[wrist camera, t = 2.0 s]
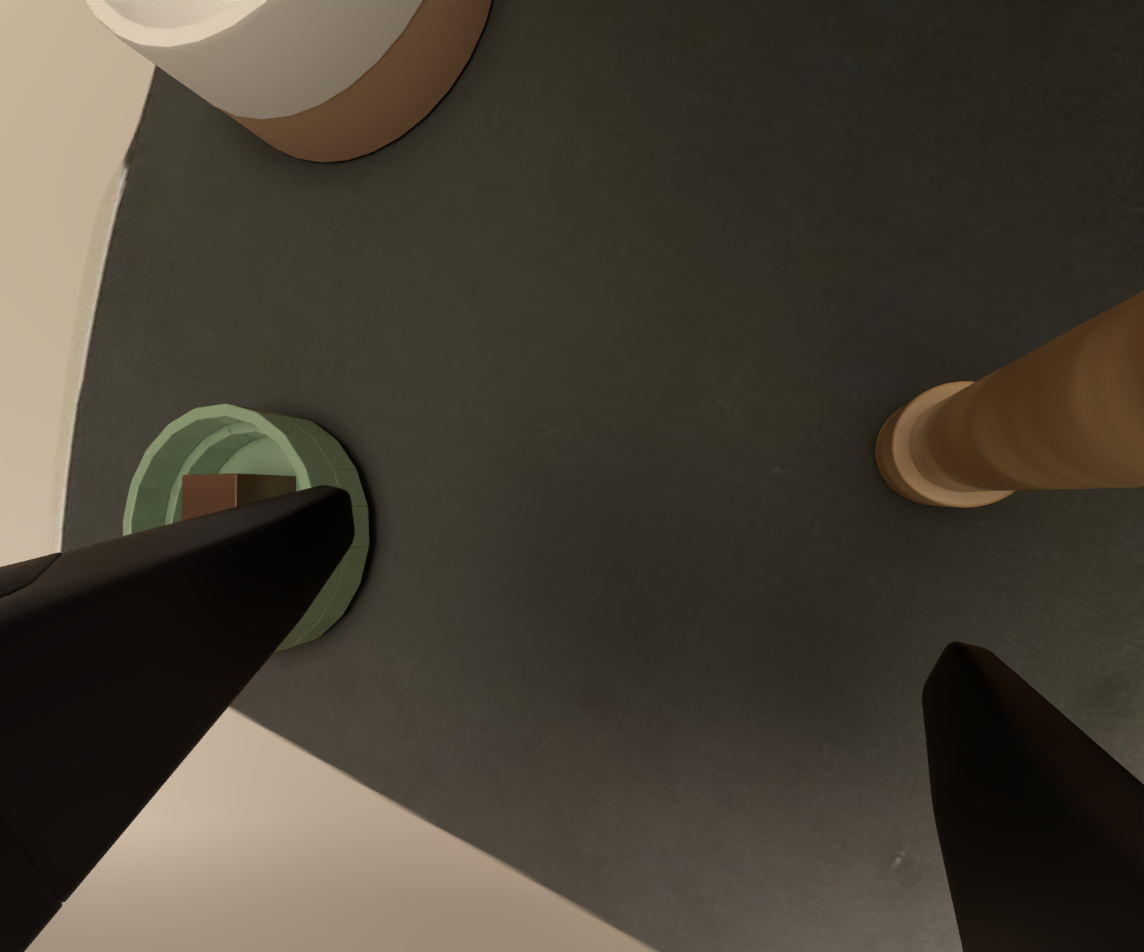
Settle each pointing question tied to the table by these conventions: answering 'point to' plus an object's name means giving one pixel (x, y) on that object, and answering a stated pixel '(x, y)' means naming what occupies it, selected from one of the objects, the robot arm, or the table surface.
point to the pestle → (1028, 421)
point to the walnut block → (229, 491)
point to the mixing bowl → (253, 447)
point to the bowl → (308, 62)
